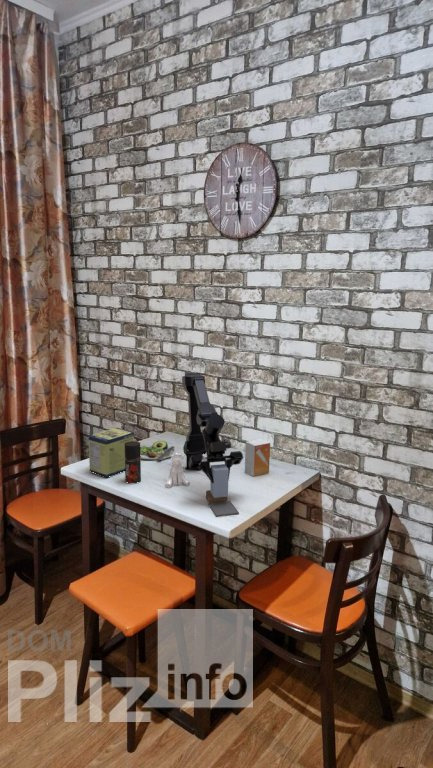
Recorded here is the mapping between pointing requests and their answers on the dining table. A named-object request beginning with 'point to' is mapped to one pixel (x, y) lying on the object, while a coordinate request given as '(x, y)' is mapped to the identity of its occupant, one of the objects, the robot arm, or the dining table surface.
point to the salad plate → (157, 451)
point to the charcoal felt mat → (223, 508)
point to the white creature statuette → (177, 472)
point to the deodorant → (132, 462)
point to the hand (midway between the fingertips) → (220, 482)
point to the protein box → (108, 451)
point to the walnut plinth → (212, 499)
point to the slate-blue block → (219, 481)
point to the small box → (257, 457)
